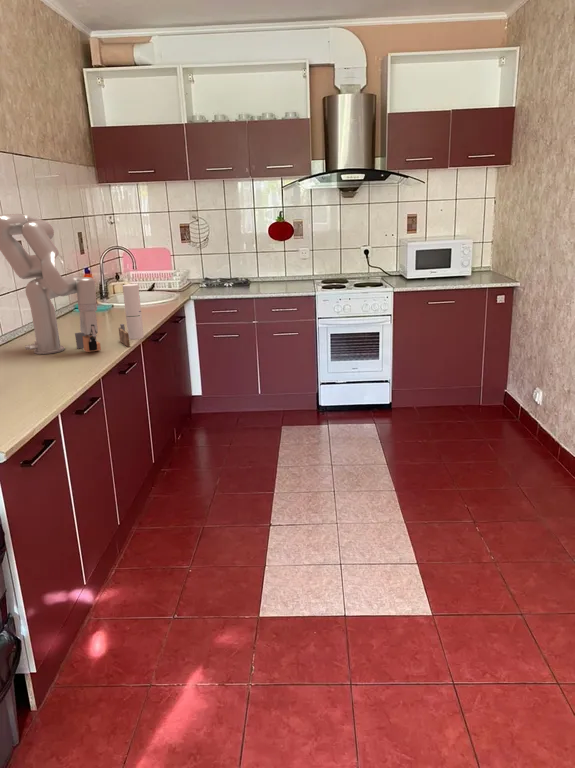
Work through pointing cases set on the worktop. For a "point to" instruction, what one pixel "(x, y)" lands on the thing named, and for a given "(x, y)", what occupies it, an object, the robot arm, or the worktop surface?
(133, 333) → the cylindrical container
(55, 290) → the robot arm
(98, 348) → the orange l-shaped block
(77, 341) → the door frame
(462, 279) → the worktop surface
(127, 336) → the door
